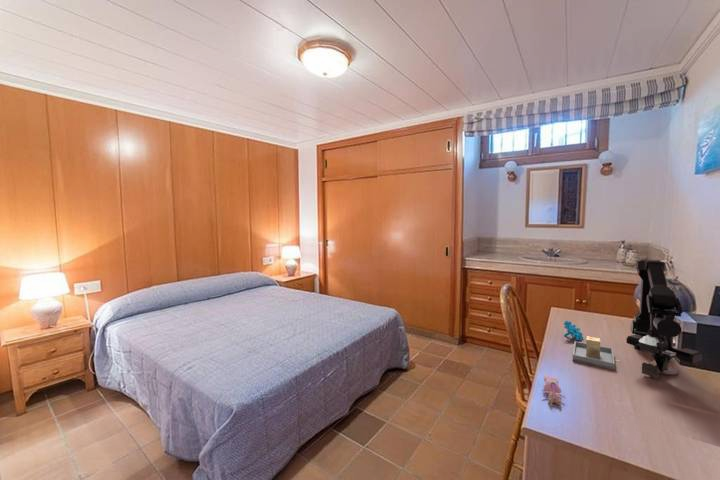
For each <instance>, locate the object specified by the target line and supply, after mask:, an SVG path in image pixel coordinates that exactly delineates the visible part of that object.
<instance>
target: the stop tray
mask: <svg viewBox="0 0 720 480" xmlns="http://www.w3.org/2000/svg"><path fill="white" fill-rule="evenodd" d="M586 343H587V342H582V341H576V340H574V343H573V350H572V351H573V352H572V362H573V361H574V362H577V363H581V364H586V365H591V366H596V367H599V368H604V369H608V370H609V369H610V370H612V371H615V370H616V368H615V367H616V363H615V361H616V360H615V355H614V348H612V347H608V346H607V347H606V346H602V345H600V359H598V358H593V357H589V356H586Z"/></svg>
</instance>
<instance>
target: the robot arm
mask: <svg viewBox="0 0 720 480" xmlns="http://www.w3.org/2000/svg"><path fill="white" fill-rule="evenodd" d="M666 264H667V262H664V261H661V260H660V259H645V258H644V259H642V258H641V259H639V260H637V261H635V263H634V267H635V270H636V272H637V274H638V276H639V277H640V279H641V282H640V284H641V285H640V299H639V310H638V311H637V312H636V313H635V314H633V315H634V316H633V319H632V320H631V323H630V333H631V334H632V335H628V336H626V344H628V345H631V346H632V347H633V348H634V349H637V350H640V351H641V350H642V351H645V352H647V353H649V354H650V355H651V356H652V358H653V360H655V362H656V364H657V366H658V367H659V370H660V371H663V370H664V369H665V367H666V366H667V364H668V365H669V363H670V361H672V360H673V358H677V359H678V360H680V361H683V362H686V363H689V364H695V363H698V362H702V361H703V354H702V353H701V352H700V351H697V350H694V349H691V348H687V347H684V348H681V349H678V348H675V347H676V343H675V342H674V338H675V337H678V336H680V334H681V333H682V331H683V330H682V326H681V325H680V323H678V321H676V319H675V317H682V314H683V312H684V311H683V307H682V302H681V301H680V298H679V297H677V295H676V292H675V290H673V289H672V288H670V287H669V285H668V282H667V279H666V274H665V272H667V271H666V269H667V265H666Z"/></svg>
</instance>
